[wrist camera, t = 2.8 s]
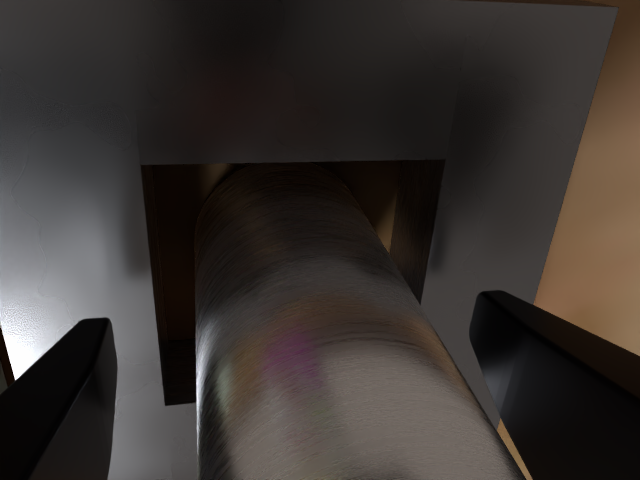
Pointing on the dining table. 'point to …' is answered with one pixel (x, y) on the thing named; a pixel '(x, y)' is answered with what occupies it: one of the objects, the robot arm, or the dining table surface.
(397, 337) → the salt shaker
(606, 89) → the dining table surface
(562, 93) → the collar
